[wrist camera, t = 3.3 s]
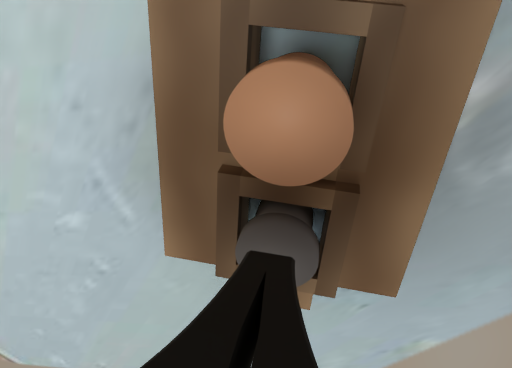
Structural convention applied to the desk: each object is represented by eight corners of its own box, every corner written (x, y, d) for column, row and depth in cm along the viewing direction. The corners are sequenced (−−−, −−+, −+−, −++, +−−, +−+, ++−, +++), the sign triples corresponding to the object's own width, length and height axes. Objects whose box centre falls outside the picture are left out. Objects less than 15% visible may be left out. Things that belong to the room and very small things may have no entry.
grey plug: (327, 188, 18) (325, 231, 15) (316, 247, 20) (312, 295, 17) (252, 177, 19) (236, 216, 16) (248, 235, 21) (233, 281, 18)
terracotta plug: (360, 45, 12) (366, 71, 10) (340, 147, 14) (340, 194, 11) (250, 34, 13) (224, 55, 10) (244, 134, 15) (221, 176, 12)
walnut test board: (610, -391, 10) (700, -506, 7) (382, 296, 22) (387, 337, 19) (151, -377, 11) (99, -470, 9) (179, 259, 23) (161, 293, 21)
